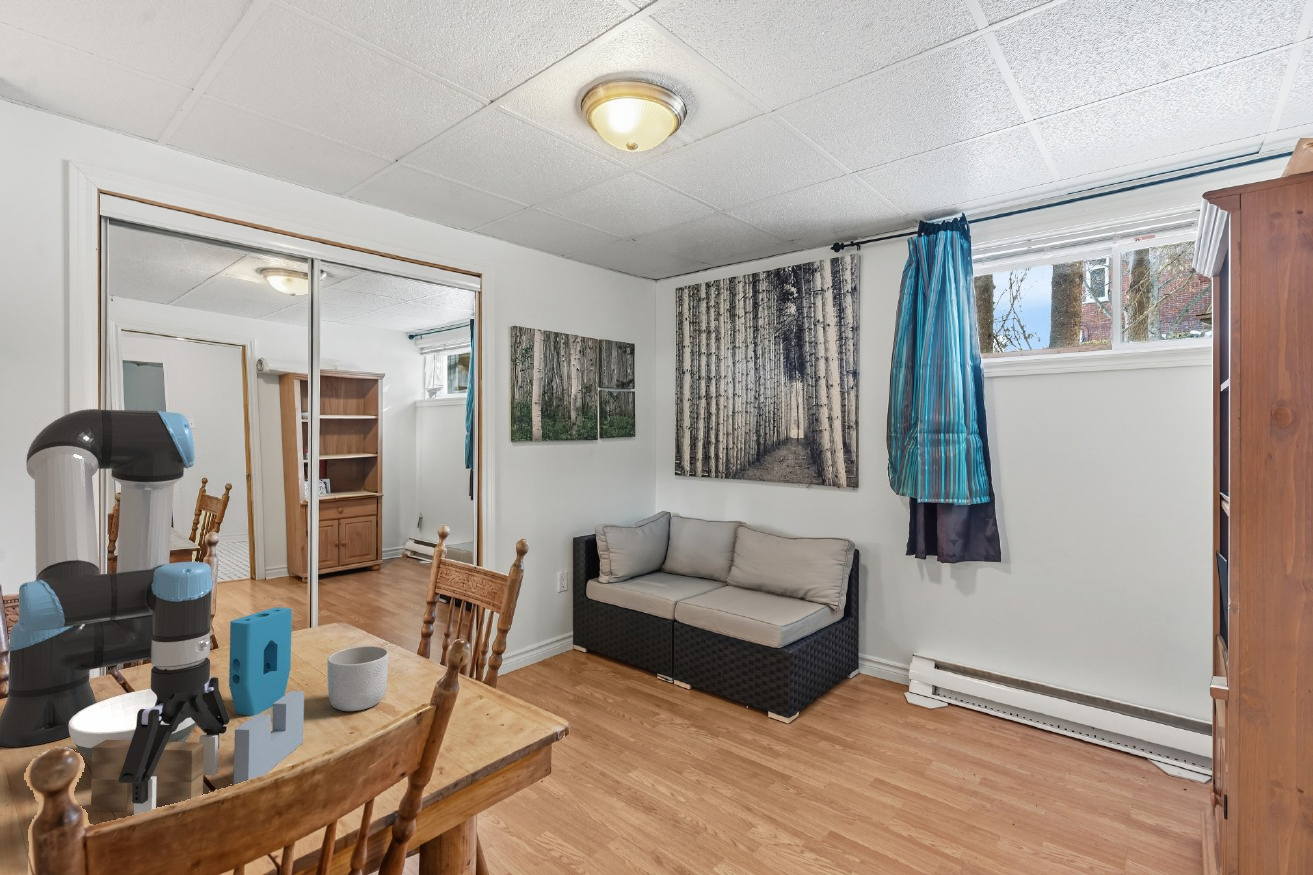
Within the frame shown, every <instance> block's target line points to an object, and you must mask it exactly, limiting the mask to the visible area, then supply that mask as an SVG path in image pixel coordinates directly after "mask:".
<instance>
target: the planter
mask: <svg viewBox="0 0 1313 875" xmlns="http://www.w3.org/2000/svg"><path fill="white" fill-rule="evenodd" d="M389 658H390V651H389V649H387V648H385V647H382V646H379V645H360V646H352V647H347V648H343V649H340V650H338V651H335V652H333V653H331V654H330V655H329V656H328V657H327V659H326V660H327V661H326V662H327V664H326V665H327V690H328V691H327V692H328V700H329V703H330V705H331V706H332V707H333V708H335V709H336V710H338V711H343V712H357V711H362V710H363V711H364V710H366V709H369V708H372V707H374V706H376V705H378V704H379V703H380V702H381V701H382V699H383V698H384V696H385V695H386V690H387V685H388V674H389V673H388V672H389V661H390V660H389Z"/></svg>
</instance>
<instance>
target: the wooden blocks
mask: <svg viewBox="0 0 1313 875" xmlns="http://www.w3.org/2000/svg"><path fill="white" fill-rule="evenodd" d="M131 741H132V740H105V741H103V742H101V743H99V744H97V745H95V746H94V747H92V761H91V784H90V785H91V788H90V790H91V793H90V794H91V795H90V796H91V797H90V798H91V799H90V811H97V812H99V811H100V812H123V813H124V812H125V813H126V812H128V811H130V810H131V809H134V803H133V802H132V783H119V777H120V774H121V771H122V768H123V765H124V762H125V759H126V756H127V753H128V750H129V747H130V744H131ZM203 760H204V743H199V742H193V741H192V742H191V741H190V742H186V741H185V742H167V744H166V746H165V748H164V751H163V753H162V755H161V757H160V759H159V761H158V763H157V766H156V768H155V770H154V772H153V774H152V776H157V778H156V808H157V807H162V806H165V805H170V804H174V803H178V802H181V801H185V800H187V799H191V798H193V797H197V796H200V795H202V794H203V795H204V775H203ZM144 772H145V769H144Z"/></svg>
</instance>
